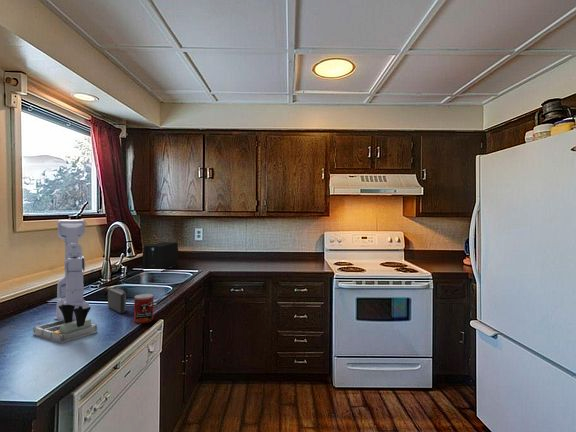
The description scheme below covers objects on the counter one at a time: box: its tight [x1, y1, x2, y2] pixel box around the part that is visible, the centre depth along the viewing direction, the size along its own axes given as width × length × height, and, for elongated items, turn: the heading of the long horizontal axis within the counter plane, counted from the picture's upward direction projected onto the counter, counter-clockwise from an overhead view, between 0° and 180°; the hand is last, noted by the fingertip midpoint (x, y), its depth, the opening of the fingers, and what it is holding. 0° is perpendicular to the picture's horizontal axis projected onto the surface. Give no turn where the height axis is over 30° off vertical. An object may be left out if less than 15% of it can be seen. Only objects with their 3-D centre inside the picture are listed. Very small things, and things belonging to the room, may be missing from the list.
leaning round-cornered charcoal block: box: [107, 288, 127, 314], centre depth 172 cm, size 16×5×9 cm, turn 47°
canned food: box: [133, 293, 154, 324], centre depth 156 cm, size 8×8×11 cm
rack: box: [32, 319, 98, 344], centre depth 139 cm, size 18×14×3 cm
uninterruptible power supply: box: [141, 241, 180, 270], centre depth 291 cm, size 16×34×20 cm, turn 176°
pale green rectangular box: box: [60, 317, 92, 334], centre depth 137 cm, size 3×10×4 cm, turn 152°
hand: (74, 324), depth 136 cm, fingers open, 7 cm apart
